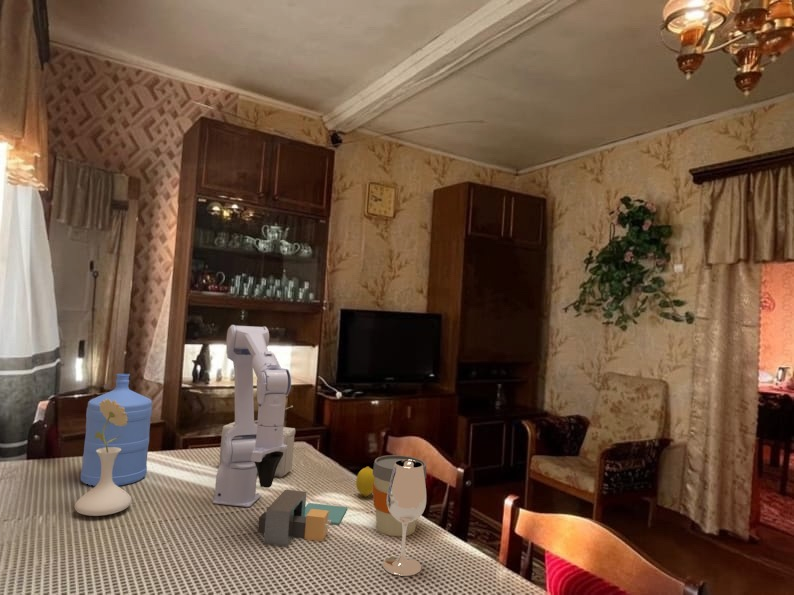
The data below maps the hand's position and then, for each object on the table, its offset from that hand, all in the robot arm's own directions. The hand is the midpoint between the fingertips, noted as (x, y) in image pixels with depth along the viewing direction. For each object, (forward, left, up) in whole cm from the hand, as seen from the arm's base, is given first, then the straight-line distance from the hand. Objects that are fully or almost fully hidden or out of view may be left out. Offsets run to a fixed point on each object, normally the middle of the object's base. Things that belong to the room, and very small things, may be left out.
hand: (265, 486), depth 111 cm
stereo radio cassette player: (-16, +39, -10) cm, 44 cm away
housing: (+5, 0, -10) cm, 11 cm away
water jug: (-49, +21, -10) cm, 55 cm away
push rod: (+5, 0, -10) cm, 11 cm away
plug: (+12, 0, -10) cm, 15 cm away
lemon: (+19, +27, -10) cm, 34 cm away
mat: (+11, +12, -10) cm, 19 cm away
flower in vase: (-38, +1, -10) cm, 40 cm away
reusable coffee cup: (+29, +9, -10) cm, 32 cm away
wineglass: (+32, -9, -10) cm, 34 cm away
